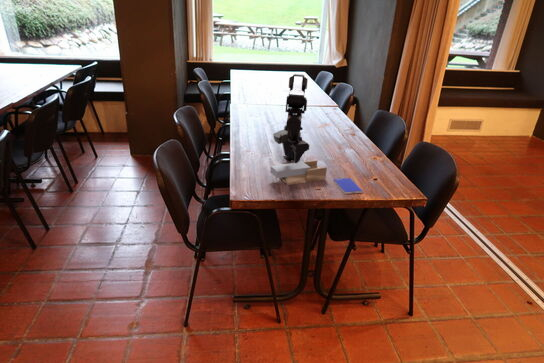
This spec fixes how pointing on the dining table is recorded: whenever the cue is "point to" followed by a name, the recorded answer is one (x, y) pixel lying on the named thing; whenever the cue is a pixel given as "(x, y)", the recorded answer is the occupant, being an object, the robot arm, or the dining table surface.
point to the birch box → (308, 174)
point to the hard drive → (347, 185)
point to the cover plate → (289, 169)
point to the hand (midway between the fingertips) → (290, 159)
